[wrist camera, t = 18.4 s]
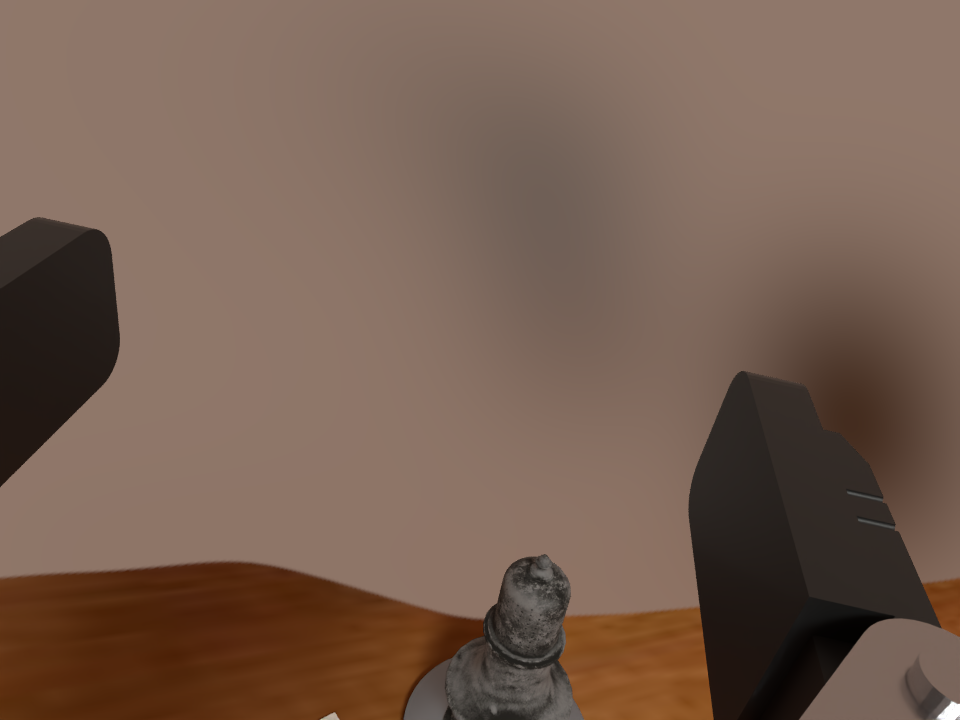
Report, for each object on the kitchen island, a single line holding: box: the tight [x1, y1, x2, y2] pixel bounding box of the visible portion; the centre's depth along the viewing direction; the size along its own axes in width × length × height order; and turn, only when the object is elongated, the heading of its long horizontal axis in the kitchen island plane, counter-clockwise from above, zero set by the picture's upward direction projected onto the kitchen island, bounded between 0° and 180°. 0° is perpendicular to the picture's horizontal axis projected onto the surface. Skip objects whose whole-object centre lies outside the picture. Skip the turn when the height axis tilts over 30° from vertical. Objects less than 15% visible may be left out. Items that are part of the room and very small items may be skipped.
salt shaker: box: [443, 554, 573, 720], centre depth 34 cm, size 6×6×12 cm
